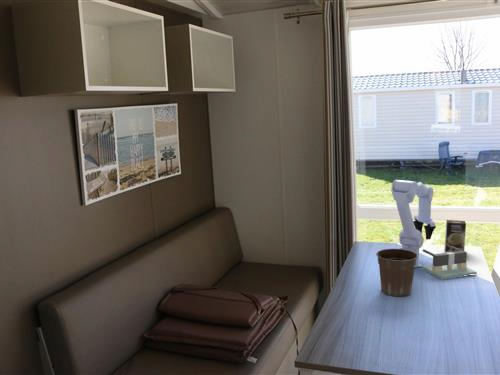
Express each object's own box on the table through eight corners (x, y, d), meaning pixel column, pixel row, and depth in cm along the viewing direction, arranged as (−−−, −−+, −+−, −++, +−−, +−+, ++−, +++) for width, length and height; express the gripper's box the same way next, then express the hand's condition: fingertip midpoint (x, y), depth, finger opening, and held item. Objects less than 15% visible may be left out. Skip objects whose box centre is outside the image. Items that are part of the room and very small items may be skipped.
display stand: (441, 279, 227) (442, 271, 226) (422, 269, 240) (423, 261, 239) (476, 274, 232) (476, 266, 231) (455, 265, 245) (456, 257, 244)
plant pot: (371, 295, 212) (371, 257, 209) (380, 282, 226) (381, 246, 223) (411, 301, 204) (413, 262, 201) (419, 287, 218) (420, 251, 215)
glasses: (435, 266, 232) (436, 255, 231) (422, 259, 242) (422, 249, 241) (466, 262, 236) (466, 252, 235) (451, 255, 246) (452, 245, 245)
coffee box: (445, 253, 262) (446, 222, 259) (444, 249, 268) (445, 219, 266) (464, 254, 260) (466, 223, 257) (463, 250, 266) (464, 220, 263)
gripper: (440, 212, 247) (439, 240, 249) (422, 206, 260) (422, 232, 263) (428, 214, 245) (427, 241, 248) (410, 207, 259) (409, 233, 261)
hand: (423, 237), depth 255 cm, fingers open, 7 cm apart
